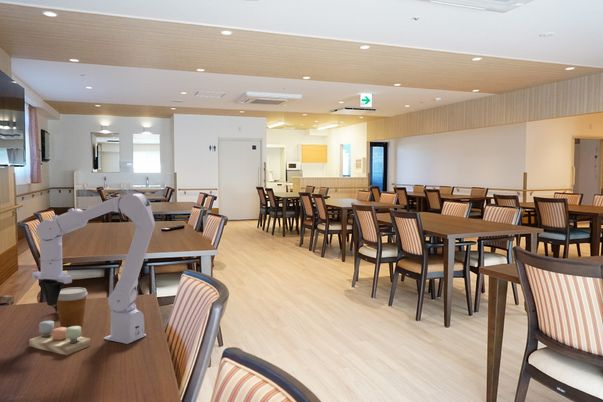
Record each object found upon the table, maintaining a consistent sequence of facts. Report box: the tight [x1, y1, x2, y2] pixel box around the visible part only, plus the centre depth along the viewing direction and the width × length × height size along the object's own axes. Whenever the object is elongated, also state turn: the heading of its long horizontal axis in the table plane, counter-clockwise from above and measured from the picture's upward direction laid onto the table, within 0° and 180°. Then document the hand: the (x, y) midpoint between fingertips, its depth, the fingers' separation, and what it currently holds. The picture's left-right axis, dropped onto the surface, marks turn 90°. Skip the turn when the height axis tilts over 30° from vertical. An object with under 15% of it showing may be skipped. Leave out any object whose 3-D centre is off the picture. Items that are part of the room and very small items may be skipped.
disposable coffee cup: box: [57, 286, 89, 328], centre depth 146 cm, size 10×10×12 cm
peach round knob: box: [52, 326, 66, 341], centre depth 130 cm, size 4×4×4 cm
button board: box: [28, 332, 92, 356], centre depth 130 cm, size 15×8×2 cm, turn 66°
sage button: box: [66, 326, 82, 344], centre depth 128 cm, size 4×4×4 cm
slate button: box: [38, 320, 55, 338], centre depth 132 cm, size 4×4×4 cm
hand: (52, 304), depth 135 cm, fingers closed
